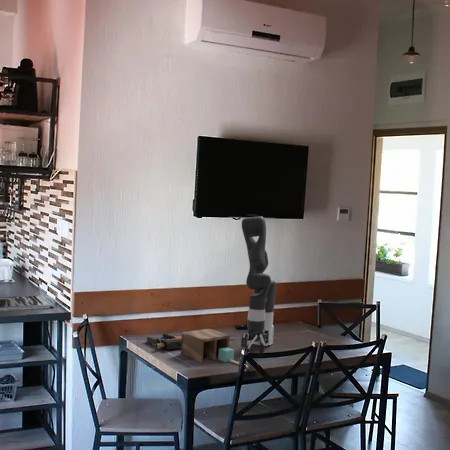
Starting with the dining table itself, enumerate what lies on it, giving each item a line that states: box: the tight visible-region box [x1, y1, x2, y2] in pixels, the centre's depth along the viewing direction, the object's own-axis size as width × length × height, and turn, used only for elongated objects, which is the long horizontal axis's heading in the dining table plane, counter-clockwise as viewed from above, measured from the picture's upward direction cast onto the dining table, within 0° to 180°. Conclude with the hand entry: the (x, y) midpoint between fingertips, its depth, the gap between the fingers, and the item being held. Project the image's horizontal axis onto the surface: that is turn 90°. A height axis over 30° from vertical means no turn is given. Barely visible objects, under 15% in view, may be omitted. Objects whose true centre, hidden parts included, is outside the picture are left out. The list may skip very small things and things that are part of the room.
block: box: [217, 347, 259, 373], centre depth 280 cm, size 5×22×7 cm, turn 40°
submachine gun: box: [146, 332, 182, 351], centre depth 311 cm, size 29×5×25 cm
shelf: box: [180, 328, 231, 362], centre depth 293 cm, size 17×15×10 cm
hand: (254, 355), depth 273 cm, fingers open, 8 cm apart
